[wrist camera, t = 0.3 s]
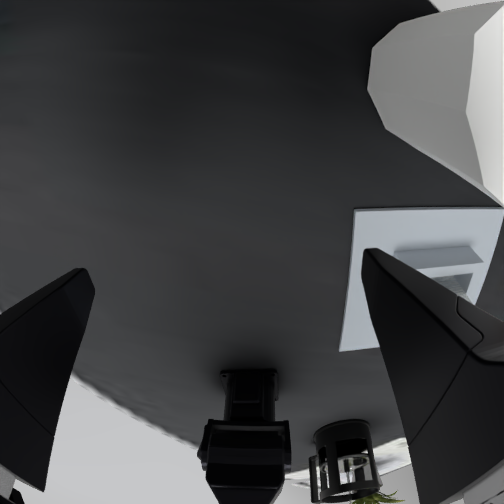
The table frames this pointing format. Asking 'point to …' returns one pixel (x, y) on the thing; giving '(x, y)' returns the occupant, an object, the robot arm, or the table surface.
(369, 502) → the house plant
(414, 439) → the robot arm
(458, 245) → the stand base
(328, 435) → the french press
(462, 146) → the toilet paper
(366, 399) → the table surface
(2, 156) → the table surface
